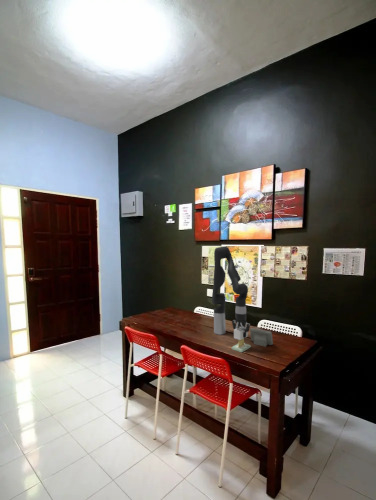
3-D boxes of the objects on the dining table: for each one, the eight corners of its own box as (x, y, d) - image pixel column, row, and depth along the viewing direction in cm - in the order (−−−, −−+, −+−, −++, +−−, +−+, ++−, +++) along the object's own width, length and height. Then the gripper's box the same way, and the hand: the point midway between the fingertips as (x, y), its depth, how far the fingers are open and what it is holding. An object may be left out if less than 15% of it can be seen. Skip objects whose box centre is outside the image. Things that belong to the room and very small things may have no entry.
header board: (240, 344, 177) (240, 335, 177) (250, 347, 171) (250, 338, 171) (231, 349, 168) (231, 339, 168) (241, 352, 163) (241, 342, 163)
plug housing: (241, 334, 175) (241, 325, 175) (247, 336, 171) (247, 326, 172) (233, 338, 168) (233, 328, 168) (240, 340, 164) (240, 330, 164)
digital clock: (274, 345, 175) (274, 330, 175) (268, 348, 169) (268, 333, 169) (254, 339, 187) (254, 325, 187) (248, 342, 180) (247, 328, 180)
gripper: (252, 313, 168) (252, 337, 167) (235, 309, 178) (235, 332, 177) (247, 315, 162) (247, 340, 162) (229, 311, 172) (229, 335, 172)
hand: (240, 336), depth 170 cm, fingers closed on plug housing, 5 cm apart
